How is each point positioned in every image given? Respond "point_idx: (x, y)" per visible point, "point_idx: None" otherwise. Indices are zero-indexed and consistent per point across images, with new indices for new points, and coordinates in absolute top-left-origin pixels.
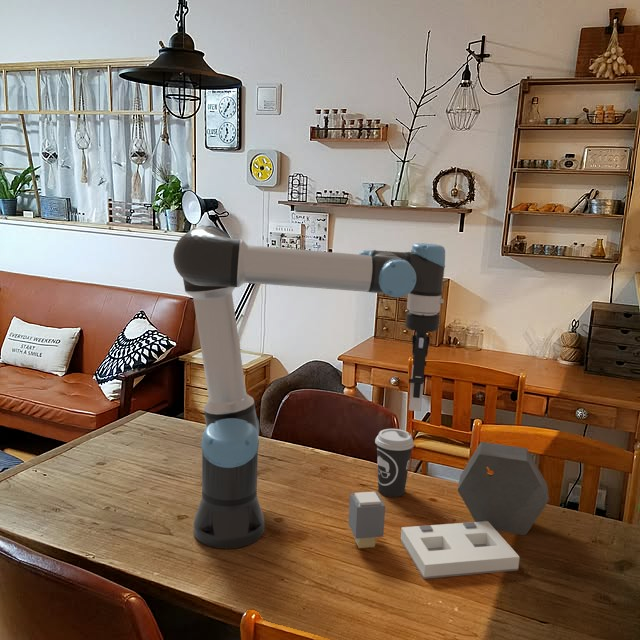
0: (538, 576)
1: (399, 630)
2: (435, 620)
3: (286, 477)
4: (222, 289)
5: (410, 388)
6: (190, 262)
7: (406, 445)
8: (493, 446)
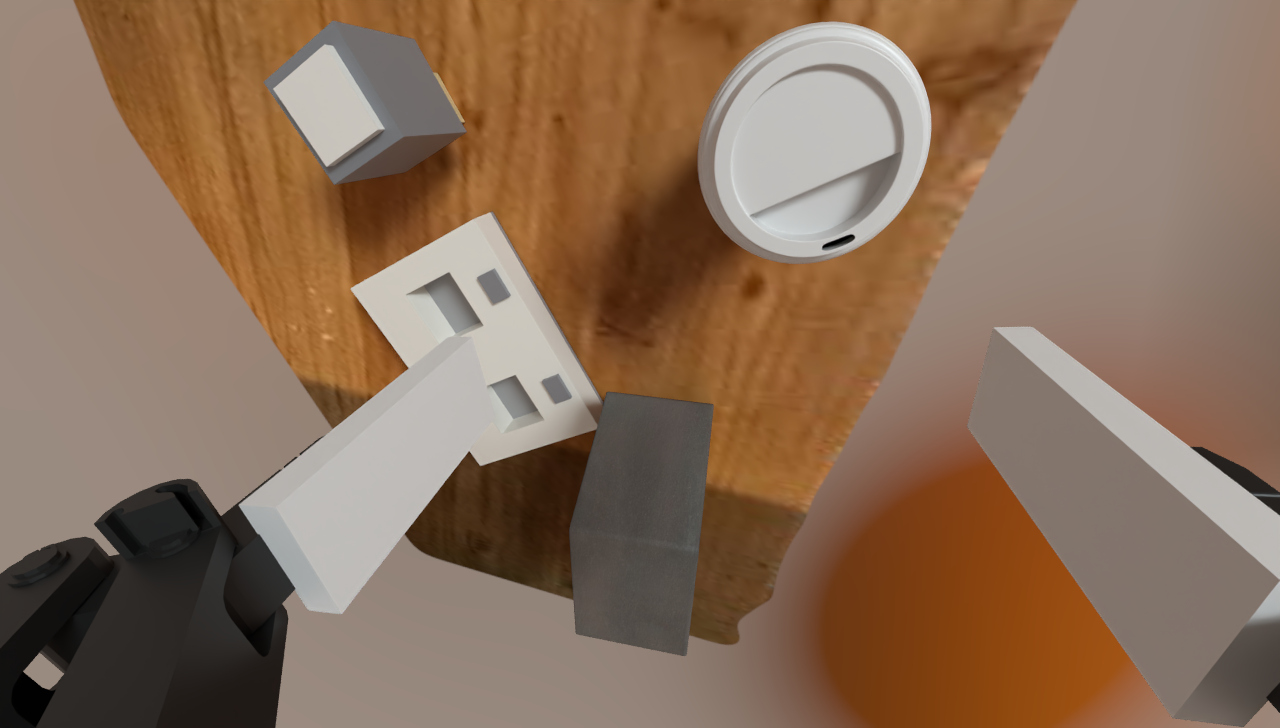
0: (492, 474)
1: (213, 242)
2: (277, 302)
3: None
4: None
5: (1010, 345)
6: None
7: (728, 233)
8: (661, 579)
